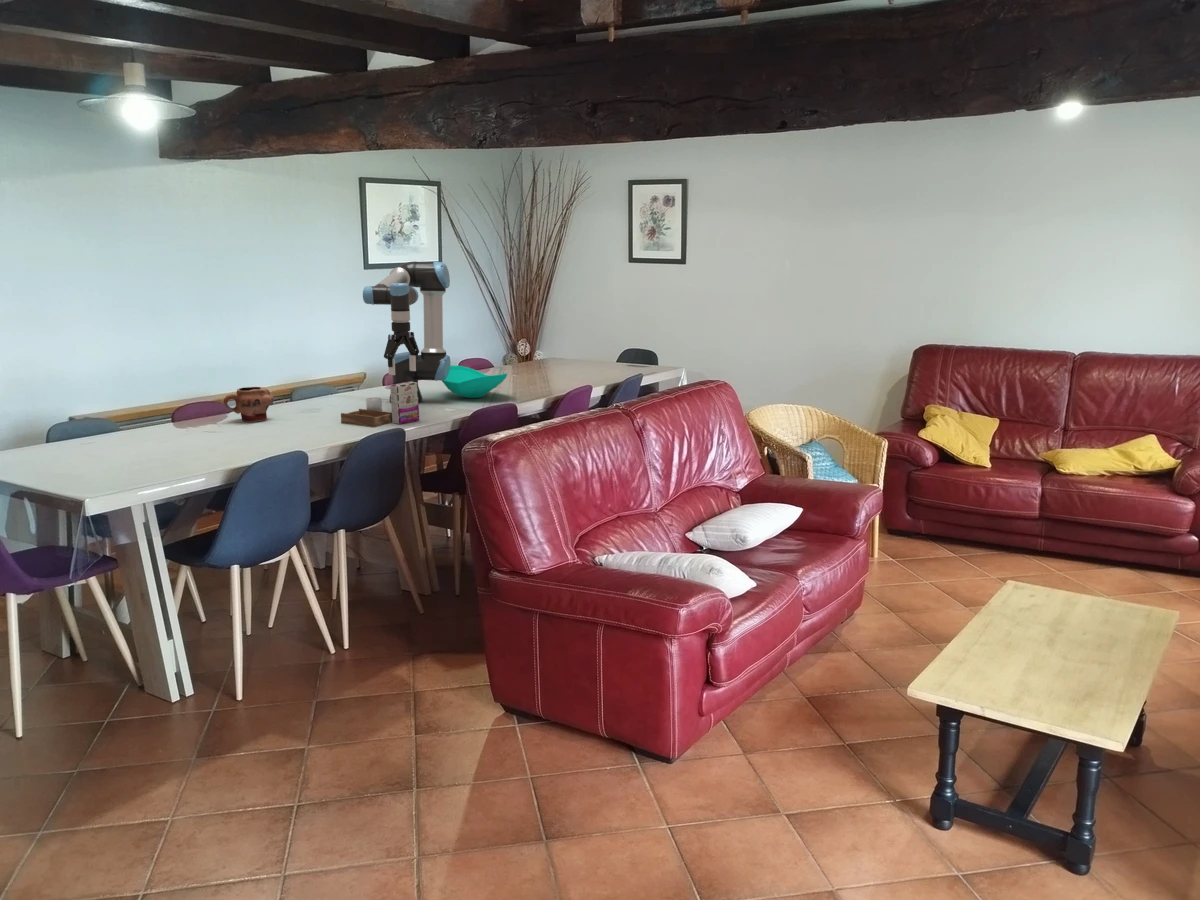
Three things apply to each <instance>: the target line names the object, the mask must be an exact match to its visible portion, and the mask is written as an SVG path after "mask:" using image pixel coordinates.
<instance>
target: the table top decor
mask: <svg viewBox="0 0 1200 900" xmlns="http://www.w3.org/2000/svg"><path fill="white" fill-rule="evenodd" d="M507 376H508V373H507V372H506V373H501V374H492V375H489V374H485V373H483V372H480V371H479V370H477V369H474V368H471V367H469V366H462V365H450V371H449V374H448V377H447V378H446V379H445V380H440V381H441V382H442V383H443V384H444V386H445V387H446V388H447V390H449V391H450V392H452V393H453V394H455V395H458V396H460V397H463V398H466V399H478V398H479V399H480V398H483V397H484V396H485V395H487V394H488V393H490V392H491V391H493V389H496V388H497V387H498V386H499V385H500V384H502V383H503V382H504V381H505V379H506V378H507Z"/></svg>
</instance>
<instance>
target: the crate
mask: <svg viewBox="0 0 1200 900" xmlns="http://www.w3.org/2000/svg"><path fill="white" fill-rule="evenodd" d="M390 422H391V423H392V411H391V412H389V411H384V410H382V411H375V410H367V408H366V409H363V408H358V410H354V411H352V412H347V413H345V412H341V413H340V423H341V424H344V425H346V424H347V425H352V426H353V425H354V426H355V425H356V426H361V427H362V426H363V427H369V428H375V427H379V426H382V425H387V424H390Z"/></svg>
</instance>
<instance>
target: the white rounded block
mask: <svg viewBox="0 0 1200 900" xmlns="http://www.w3.org/2000/svg"><path fill="white" fill-rule="evenodd" d="M382 400H383V399H382V398H381V397H367V398H365V404H366V410H375V411H383V402H382Z"/></svg>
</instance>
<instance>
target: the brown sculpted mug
mask: <svg viewBox="0 0 1200 900" xmlns="http://www.w3.org/2000/svg"><path fill="white" fill-rule="evenodd" d="M274 398H275V397H274V396H273V395H271V392H270V390H269V389H268V388H267V387H261V386H251V387H250V386H249V387H248V386H246V387H241V388H237V390H236V393H231V394H227V395H225V397H224V399H223V404H224V406H225V407H226V408H227V409H228V410H230V411H231V412H233V413H235V414H238V415H240V417H241V420H242V421H243V422H247V423H252V422H261V421H265V420H266V421H267V419H268V417H267V416H268V415H267V411H268V408H269V407H270V405H271V404H272V403H273V402H274V400H275V399H274ZM230 400H234V401H235V406H234V407H230V406H229V405H228V402H229V401H230Z"/></svg>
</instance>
